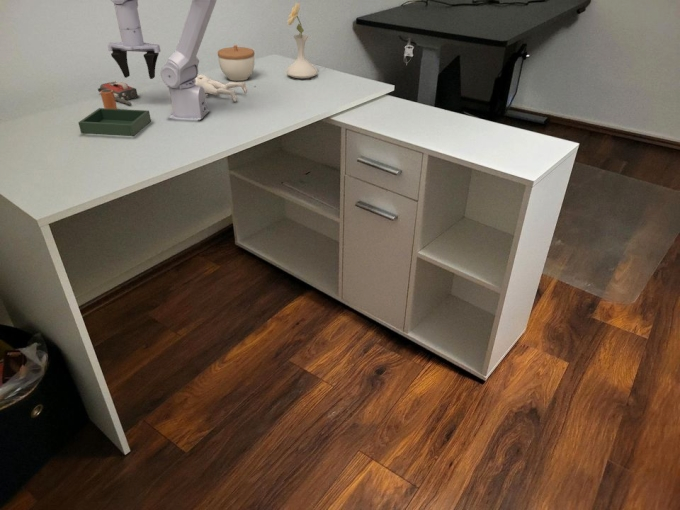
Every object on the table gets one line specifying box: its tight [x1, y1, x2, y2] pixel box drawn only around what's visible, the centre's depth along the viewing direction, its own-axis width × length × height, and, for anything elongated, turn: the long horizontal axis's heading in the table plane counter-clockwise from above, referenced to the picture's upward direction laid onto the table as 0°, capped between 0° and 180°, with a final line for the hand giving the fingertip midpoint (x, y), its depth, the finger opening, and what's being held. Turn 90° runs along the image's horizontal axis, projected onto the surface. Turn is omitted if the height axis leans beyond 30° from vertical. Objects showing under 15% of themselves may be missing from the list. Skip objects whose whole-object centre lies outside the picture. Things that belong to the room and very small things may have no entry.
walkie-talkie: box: [97, 80, 139, 106], centre depth 164 cm, size 9×4×20 cm
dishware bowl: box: [217, 44, 255, 82], centre depth 182 cm, size 13×13×11 cm
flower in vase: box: [285, 2, 318, 79], centre depth 181 cm, size 13×11×25 cm
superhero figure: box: [195, 73, 248, 103], centre depth 169 cm, size 12×6×25 cm
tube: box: [100, 89, 118, 109], centre depth 151 cm, size 3×3×7 cm
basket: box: [77, 107, 152, 137], centre depth 143 cm, size 15×12×4 cm
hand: (139, 77), depth 152 cm, fingers open, 7 cm apart
